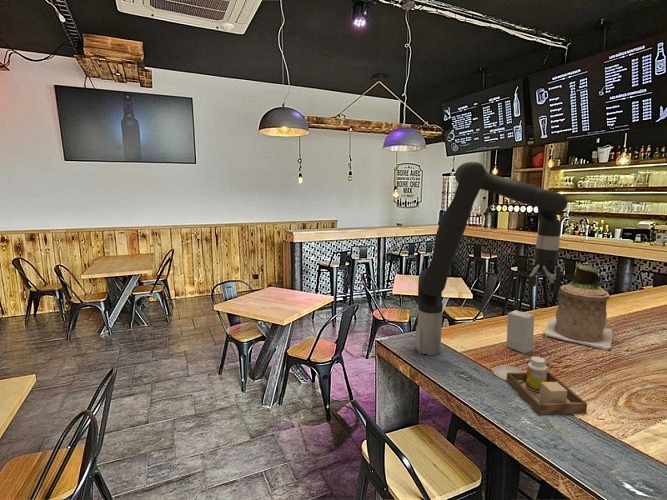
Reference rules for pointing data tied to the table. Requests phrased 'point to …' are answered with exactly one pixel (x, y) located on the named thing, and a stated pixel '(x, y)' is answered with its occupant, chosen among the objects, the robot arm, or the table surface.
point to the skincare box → (520, 331)
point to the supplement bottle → (536, 373)
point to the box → (552, 393)
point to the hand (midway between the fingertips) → (542, 289)
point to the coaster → (506, 371)
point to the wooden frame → (547, 408)
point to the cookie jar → (582, 311)
